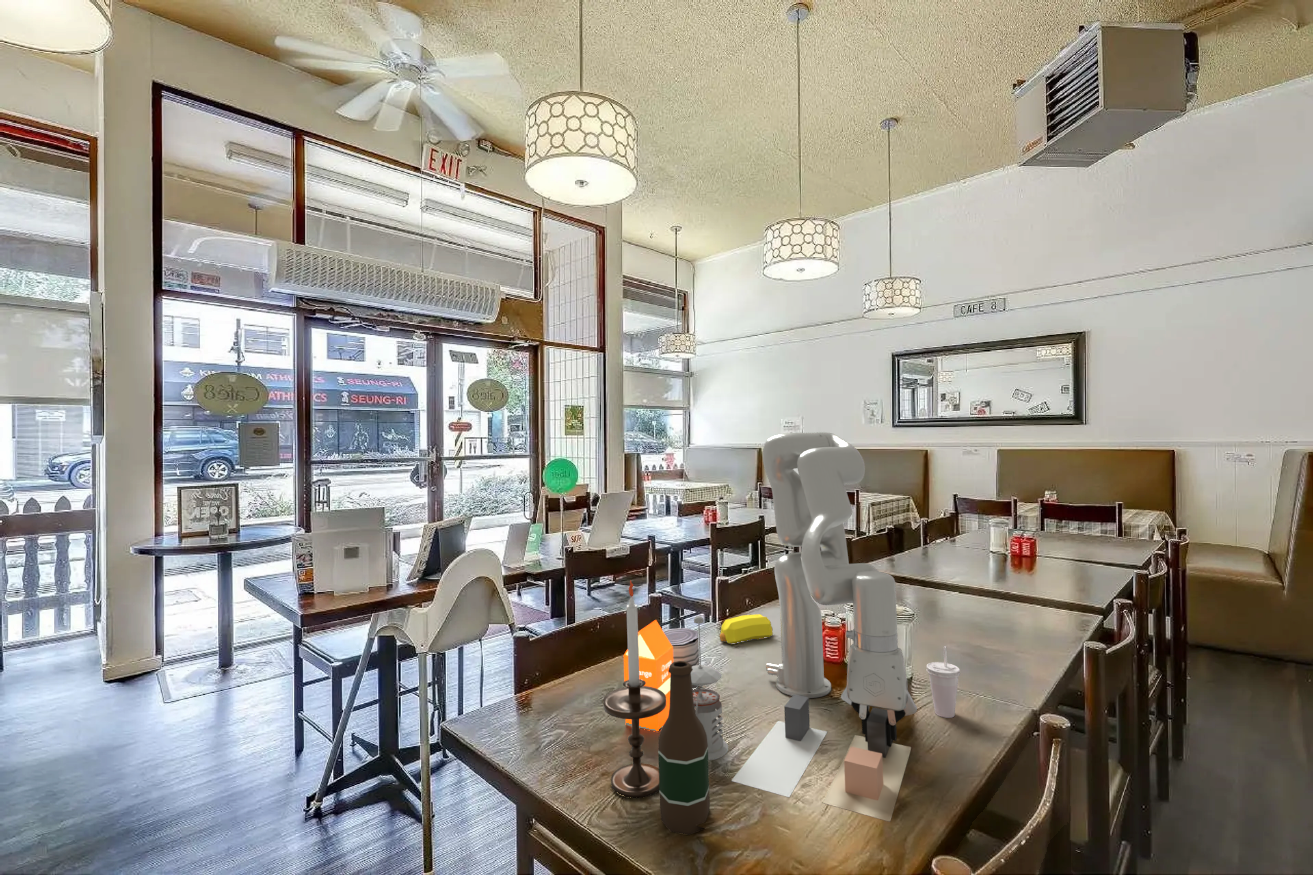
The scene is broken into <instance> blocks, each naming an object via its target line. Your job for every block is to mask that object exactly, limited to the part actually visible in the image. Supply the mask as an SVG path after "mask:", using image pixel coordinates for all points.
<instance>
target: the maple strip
mask: <svg viewBox="0 0 1313 875" xmlns="http://www.w3.org/2000/svg"><path fill="white" fill-rule="evenodd" d="M887 721H888V713H887V709H883V708H878V707H873V706H872V709H871V711H870V715H869V717H868V719H867V739H868V742H866V741H865V736H862V735H857V734H855V735H854V737H853V739H852V740H851V743H850V745H849V746H848V749H847V751H846V753H845V755H844V757H843V759H842V761H841V763H840V765H839V767H838V769H837V771H836V774H835V776H834V778H833V780H832V781H831V784H830V785H829V788H828V790H827V792H826V794H825V796H824V798H823V801H822V804H825V805H829V806H833V807H835V808H839V809H843V810H846V811H850V812H853V813H858V814H860V815H864V816H868V817H872V818H874V819H877V820H878V819H879V820H882V821H885V822H889V823H890V822H891V821H892V817H893V814H894V810H895V807H896V803H897V799H898V796H899V792H900V789H901V785H902V783H903V778H904V774H905V771H906V768H907V765H908V761H909V757H910V754H911V749H912V747H911V746H907V745H902V744H899V743H894V742H893V743H892V746H891V747H888V746H887V738H886V724H887ZM850 747H856V748H860V749H864V750H869V751H873V752H878V753H882V761H883V787H882V790H881V793H880V796H879V799H878V800H874V799H870V798H866V797H863V796H859V795H855V794H851V793H848V792H845V771H844V760H845V758H846V756H847V754H848V752H849V749H850Z"/></svg>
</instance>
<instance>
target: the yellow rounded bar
mask: <svg viewBox="0 0 1313 875" xmlns="http://www.w3.org/2000/svg"><path fill="white" fill-rule="evenodd" d="M773 634H774V632H773V626H772V622H771V621H770V619H769V618H768V617H767V616H763V615H762V614H760V613H758V614H744V615H739V616H735V617H732V618H728V619H725V620H724V622H723V623H722V625H721V628H720V633H719V640H720V641H721V642H723V641H725V642H724V643H727V644H730V643H737V642H741V641H746V642H748V641H747V640H749V641H752V640H751V639H757V640H760V639H759V638H764V637H769V638H770V636H771V637H772V636H773ZM726 641H727V642H726Z"/></svg>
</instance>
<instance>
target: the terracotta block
mask: <svg viewBox="0 0 1313 875" xmlns="http://www.w3.org/2000/svg"><path fill="white" fill-rule="evenodd" d="M849 747H850V746H849ZM848 749H849V748H848ZM844 771H845V792H848V793H851V794H855V795H859V796H863V797H866V798H870V799H874V800H878V799H879V796H880V793H881V790H882V787H883V761H882V753H878V752H873V751H869V750H864V749H860V748H856V747H850V749H849V752H848V754H847V756H846V758H845V760H844Z"/></svg>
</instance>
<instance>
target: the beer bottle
mask: <svg viewBox="0 0 1313 875" xmlns="http://www.w3.org/2000/svg"><path fill="white" fill-rule="evenodd" d="M692 670H693V669H692V666H691V664H690V663H688V662H685V661H677V662H673V663H671V665H670V667H669V671H668V672H670V673H671V675H670V708H669V715H668V718H667V720H666V722H665V723H664V725H663V727H662V729H661V730H660V731H659V736H658V745H657V746H658V747H657V756H658V768H659V791H658V792H659V811H660V820H661V822H662V823H663V825H664V826H665V828H667V829H668V830H669V832H670V833H674V834H682V835H686V836H690V835H692V834H696V833H698V832H701V831H703V830H706V829H705V827H702V826H699V825H701V824H703V823H705V822H706V821H707V819H708V816H709V812H710V809H711V807H710V806H711V802H710V801H711V800H710V799H711V798H710V774H709V772H710V771H709V770H710V767H709V760H708V743H707V734H706V732H705V729H704V727H703V724H702V723H701V722H700V720H699V719H698V717H697V716H696V713H695V710H696V708H695V707H694V702H693V691H692V681H691V672H692Z"/></svg>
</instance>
